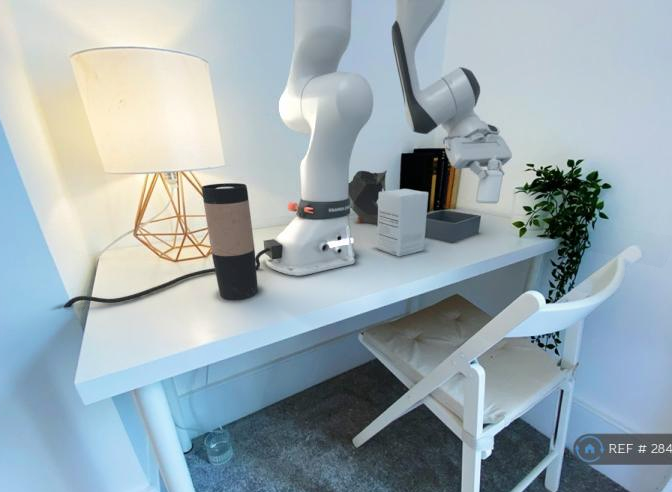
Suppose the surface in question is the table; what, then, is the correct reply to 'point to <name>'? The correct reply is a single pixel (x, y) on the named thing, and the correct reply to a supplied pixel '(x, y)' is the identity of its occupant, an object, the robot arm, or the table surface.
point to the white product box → (401, 221)
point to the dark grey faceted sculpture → (366, 195)
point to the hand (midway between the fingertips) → (493, 177)
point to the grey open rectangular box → (451, 225)
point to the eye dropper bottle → (490, 184)
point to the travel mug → (231, 239)
